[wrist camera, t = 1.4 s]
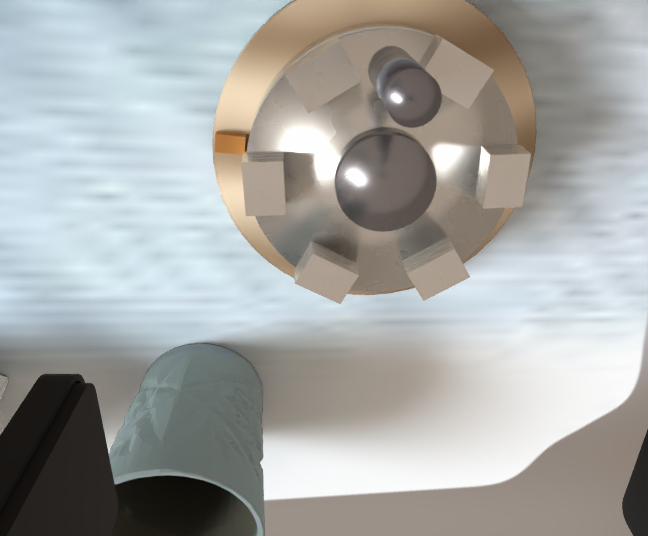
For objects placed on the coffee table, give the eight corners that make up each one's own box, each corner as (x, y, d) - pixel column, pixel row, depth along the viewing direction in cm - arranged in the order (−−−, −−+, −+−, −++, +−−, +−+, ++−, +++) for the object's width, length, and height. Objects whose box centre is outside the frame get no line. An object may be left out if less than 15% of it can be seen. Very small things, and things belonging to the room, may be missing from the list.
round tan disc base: (199, -21, 30) (191, -18, 28) (547, -28, 31) (567, -26, 29) (231, 284, 39) (227, 305, 37) (502, 274, 39) (515, 294, 37)
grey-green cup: (299, 382, 43) (300, 523, 33) (219, 462, 47) (197, 613, 36) (180, 309, 40) (139, 441, 29) (103, 402, 43) (42, 549, 33)
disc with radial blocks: (238, 25, 29) (213, 61, 20) (518, 19, 30) (615, 51, 21) (258, 273, 36) (246, 382, 27) (486, 265, 36) (549, 369, 27)
